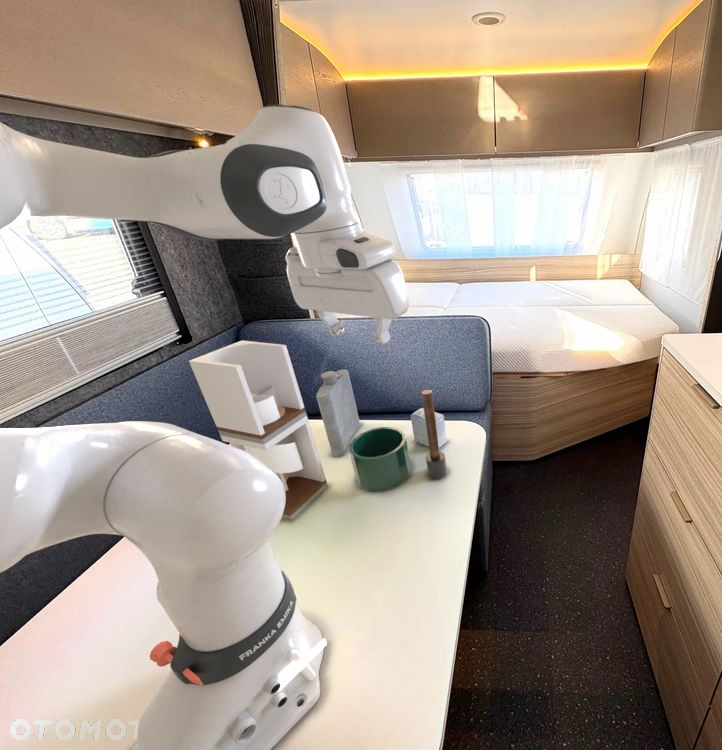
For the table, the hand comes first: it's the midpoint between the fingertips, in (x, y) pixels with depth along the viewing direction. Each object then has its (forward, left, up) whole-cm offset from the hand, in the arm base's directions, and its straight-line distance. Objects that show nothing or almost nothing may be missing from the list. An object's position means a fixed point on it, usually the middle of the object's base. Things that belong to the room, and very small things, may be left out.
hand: (360, 337), depth 61 cm
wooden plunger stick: (+16, +2, -40) cm, 43 cm away
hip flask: (+18, +34, -40) cm, 56 cm away
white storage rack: (-4, +28, -40) cm, 49 cm away
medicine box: (+26, +11, -40) cm, 49 cm away
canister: (+11, +14, -40) cm, 44 cm away
